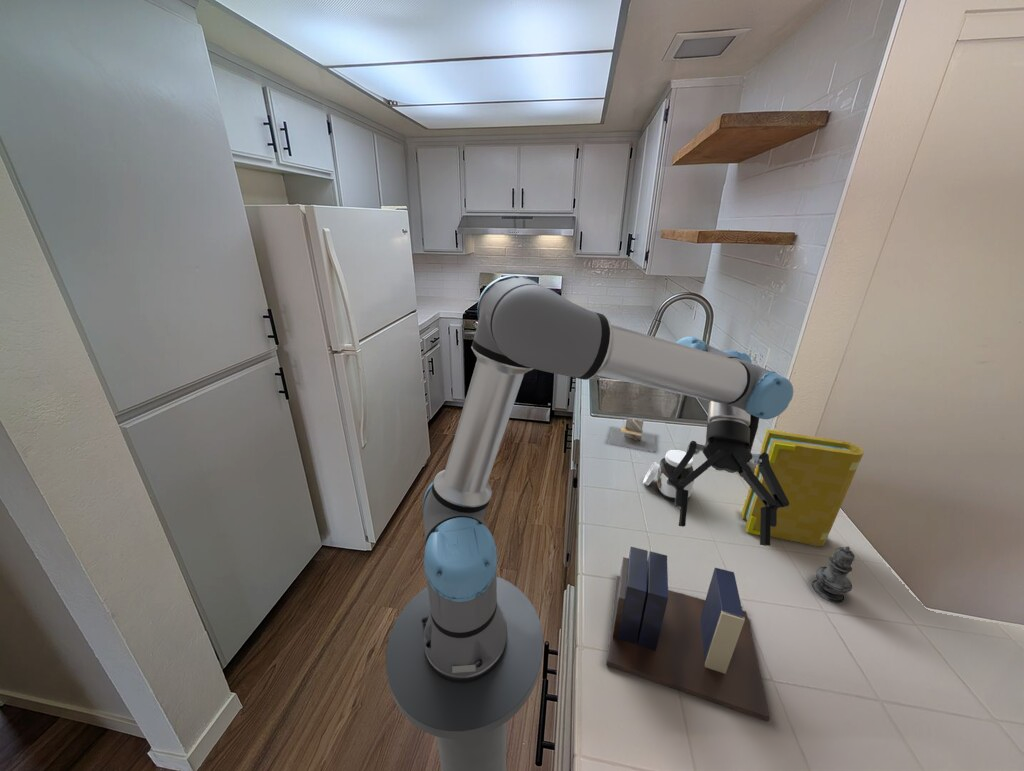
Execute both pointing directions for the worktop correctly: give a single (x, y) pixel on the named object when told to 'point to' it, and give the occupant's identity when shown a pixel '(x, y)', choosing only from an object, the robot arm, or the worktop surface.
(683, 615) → the book rack
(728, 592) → the navy book
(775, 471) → the book
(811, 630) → the worktop surface
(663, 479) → the spread jar
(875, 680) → the worktop surface
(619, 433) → the architectural model
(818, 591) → the chess piece
